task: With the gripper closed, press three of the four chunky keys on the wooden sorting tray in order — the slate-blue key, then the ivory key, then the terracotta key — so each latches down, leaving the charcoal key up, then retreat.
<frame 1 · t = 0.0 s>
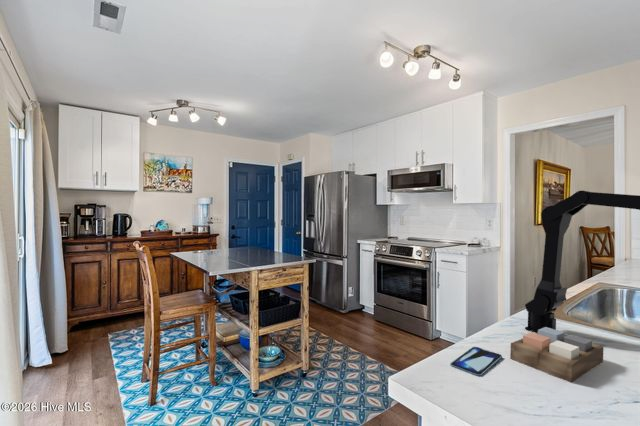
key A: (564, 351, 77), point 4 cm above the countertop, slide at 0.0 cm
key C: (550, 336, 87), point 4 cm above the countertop, slide at 0.0 cm
key T: (536, 342, 82), point 4 cm above the countertop, slide at 0.0 cm
wooden sorting tray: (556, 360, 82), on the countertop
smartphone: (476, 363, 81), on the countertop
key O: (577, 344, 82), point 4 cm above the countertop, slide at 0.0 cm
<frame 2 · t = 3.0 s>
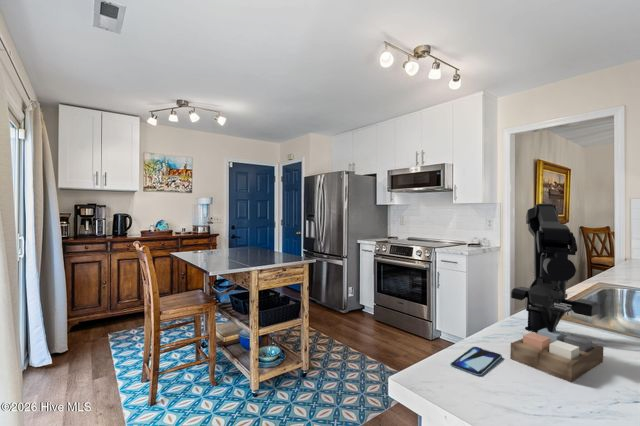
hand: (550, 331, 87), 6 cm above the countertop, fingers closed, pressing on key C
key C: (550, 337, 87), point 4 cm above the countertop, slide at 0.3 cm, touching gripper
everything else where it was.
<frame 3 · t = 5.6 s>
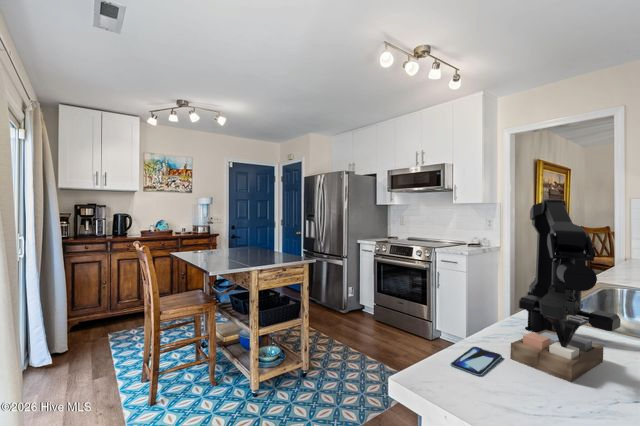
hand: (564, 346, 77), 5 cm above the countertop, fingers closed, pressing on key A
key A: (563, 353, 77), point 4 cm above the countertop, slide at 0.4 cm, touching gripper
key C: (550, 341, 87), point 3 cm above the countertop, slide at 1.5 cm
everything else where it was.
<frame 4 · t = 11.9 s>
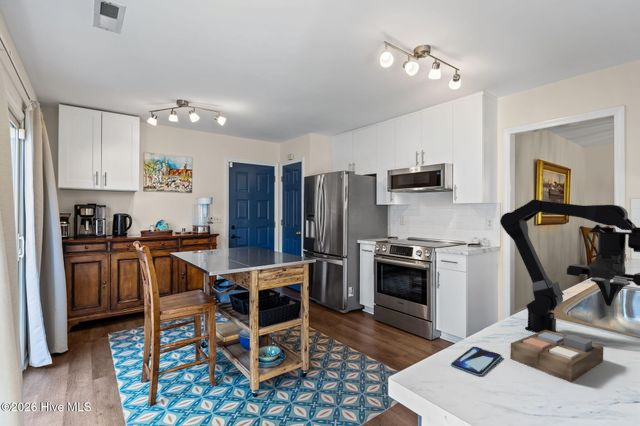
hand: (609, 305, 90), 12 cm above the countertop, fingers closed
key A: (563, 357, 77), point 3 cm above the countertop, slide at 1.4 cm
key T: (536, 348, 82), point 3 cm above the countertop, slide at 1.4 cm
everything else where it was.
at the end: key C slide at 1.5 cm; key A slide at 1.4 cm; key T slide at 1.4 cm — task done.
